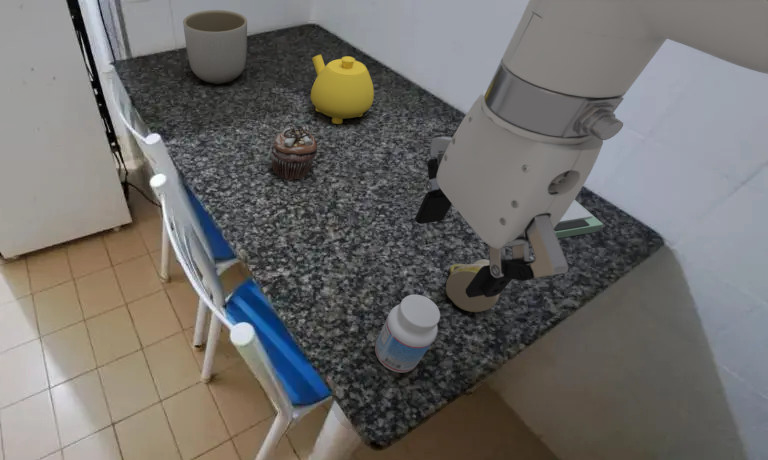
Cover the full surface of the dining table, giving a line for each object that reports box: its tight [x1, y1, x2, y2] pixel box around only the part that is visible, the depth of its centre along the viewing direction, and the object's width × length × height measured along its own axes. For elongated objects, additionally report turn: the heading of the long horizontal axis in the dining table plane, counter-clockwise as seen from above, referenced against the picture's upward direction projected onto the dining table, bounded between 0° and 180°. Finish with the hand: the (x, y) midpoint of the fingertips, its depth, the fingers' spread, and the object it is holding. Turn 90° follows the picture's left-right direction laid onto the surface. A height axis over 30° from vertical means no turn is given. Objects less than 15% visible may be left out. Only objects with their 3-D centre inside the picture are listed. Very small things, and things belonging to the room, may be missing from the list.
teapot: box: [309, 54, 375, 125], centre depth 98 cm, size 20×16×14 cm
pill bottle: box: [374, 294, 441, 374], centre depth 51 cm, size 6×6×11 cm
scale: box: [554, 199, 604, 239], centre depth 75 cm, size 13×13×3 cm
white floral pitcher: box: [445, 258, 502, 313], centre depth 60 cm, size 8×10×10 cm
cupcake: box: [269, 124, 318, 181], centre depth 81 cm, size 10×10×10 cm
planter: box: [182, 9, 248, 85], centre depth 109 cm, size 17×17×15 cm
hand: (452, 253), depth 40 cm, fingers open, 9 cm apart
